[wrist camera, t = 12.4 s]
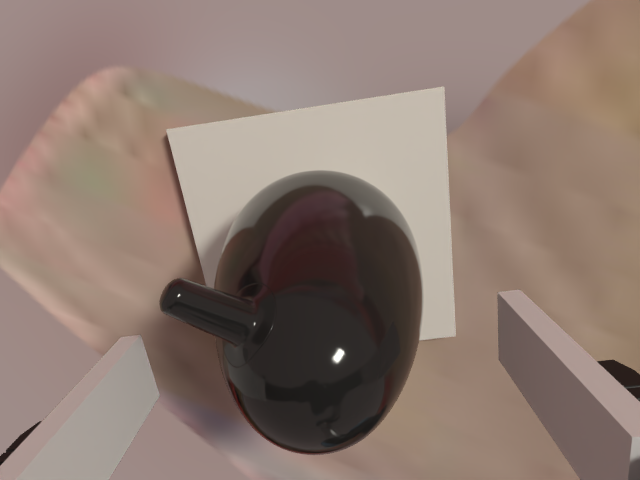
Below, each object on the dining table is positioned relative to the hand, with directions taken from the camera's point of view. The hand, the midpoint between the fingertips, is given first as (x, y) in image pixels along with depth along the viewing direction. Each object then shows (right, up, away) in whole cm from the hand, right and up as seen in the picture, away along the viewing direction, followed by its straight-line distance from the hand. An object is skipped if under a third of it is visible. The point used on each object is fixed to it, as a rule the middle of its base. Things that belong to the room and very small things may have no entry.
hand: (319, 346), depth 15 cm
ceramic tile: (0, +4, +11) cm, 12 cm away
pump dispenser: (0, +4, +11) cm, 11 cm away
